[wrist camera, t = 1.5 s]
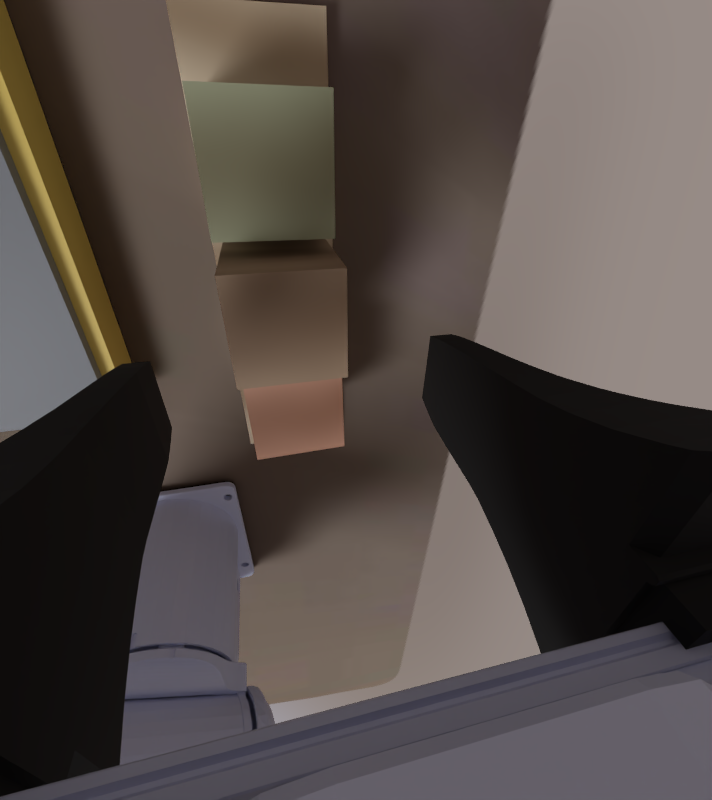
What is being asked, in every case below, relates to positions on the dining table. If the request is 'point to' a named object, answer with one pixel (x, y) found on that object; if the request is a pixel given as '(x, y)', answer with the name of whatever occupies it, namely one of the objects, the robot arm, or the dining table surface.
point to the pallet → (250, 49)
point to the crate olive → (264, 159)
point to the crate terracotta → (296, 417)
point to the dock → (43, 263)
